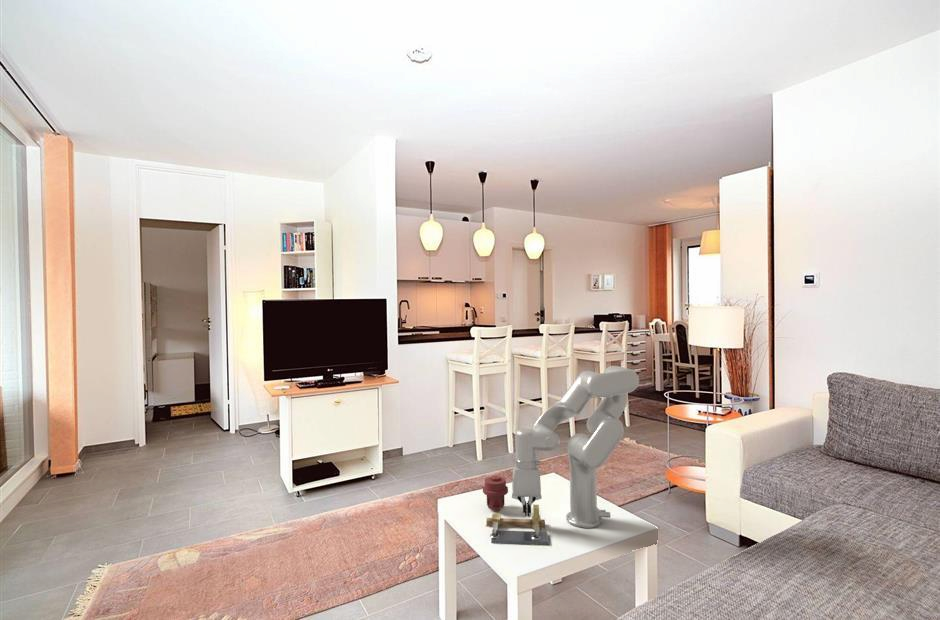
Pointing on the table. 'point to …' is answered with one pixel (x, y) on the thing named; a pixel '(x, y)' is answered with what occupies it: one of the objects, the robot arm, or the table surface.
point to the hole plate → (519, 537)
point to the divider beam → (509, 522)
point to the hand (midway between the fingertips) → (527, 514)
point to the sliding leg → (536, 520)
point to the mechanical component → (495, 492)
